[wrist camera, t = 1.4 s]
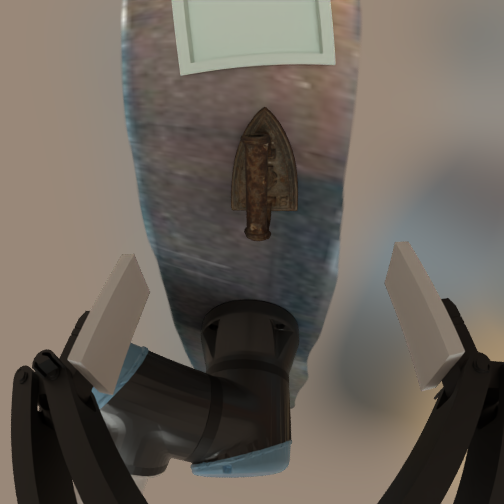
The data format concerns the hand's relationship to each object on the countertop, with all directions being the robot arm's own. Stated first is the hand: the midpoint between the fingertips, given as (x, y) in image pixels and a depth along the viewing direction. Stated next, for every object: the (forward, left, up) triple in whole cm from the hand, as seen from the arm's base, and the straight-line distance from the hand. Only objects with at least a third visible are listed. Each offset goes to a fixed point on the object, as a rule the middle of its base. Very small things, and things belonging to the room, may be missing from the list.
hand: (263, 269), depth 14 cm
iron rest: (+18, 0, -17) cm, 24 cm away
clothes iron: (0, 0, -17) cm, 17 cm away
